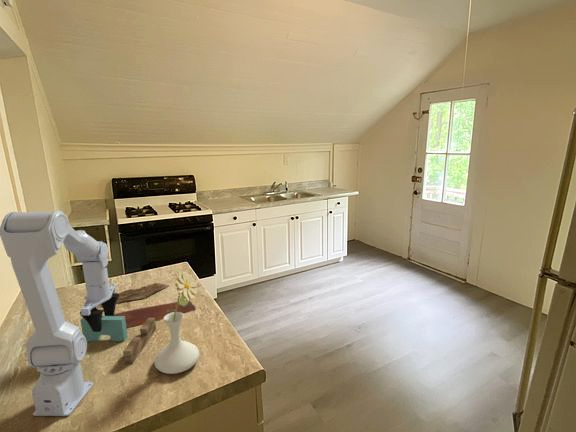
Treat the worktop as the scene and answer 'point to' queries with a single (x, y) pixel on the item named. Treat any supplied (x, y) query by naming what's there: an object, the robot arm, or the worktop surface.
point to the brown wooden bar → (139, 341)
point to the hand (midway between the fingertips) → (103, 324)
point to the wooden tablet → (152, 313)
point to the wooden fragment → (139, 292)
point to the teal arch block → (106, 329)
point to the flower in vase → (178, 332)
